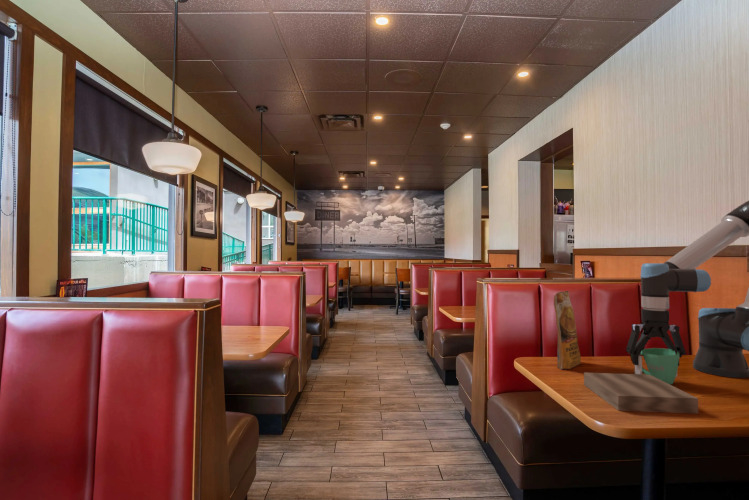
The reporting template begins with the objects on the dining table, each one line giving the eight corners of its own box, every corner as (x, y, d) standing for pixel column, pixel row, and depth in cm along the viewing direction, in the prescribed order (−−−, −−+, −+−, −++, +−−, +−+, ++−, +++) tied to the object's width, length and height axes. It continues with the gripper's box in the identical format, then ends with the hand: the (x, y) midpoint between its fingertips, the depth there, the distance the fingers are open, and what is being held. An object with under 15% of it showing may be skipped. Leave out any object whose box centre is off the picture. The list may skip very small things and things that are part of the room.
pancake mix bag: (547, 367, 139) (547, 292, 140) (567, 358, 152) (567, 289, 152) (566, 372, 134) (565, 294, 135) (585, 362, 147) (585, 290, 147)
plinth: (649, 387, 119) (649, 374, 119) (698, 413, 99) (698, 398, 99) (584, 385, 120) (583, 372, 121) (618, 410, 101) (618, 395, 101)
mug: (689, 382, 120) (685, 351, 121) (672, 389, 116) (668, 357, 117) (640, 372, 134) (637, 344, 134) (624, 378, 129) (620, 349, 130)
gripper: (683, 307, 128) (684, 372, 128) (613, 307, 130) (613, 370, 130) (700, 311, 120) (701, 380, 120) (625, 310, 123) (626, 377, 122)
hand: (655, 375), depth 125 cm, fingers open, 10 cm apart
